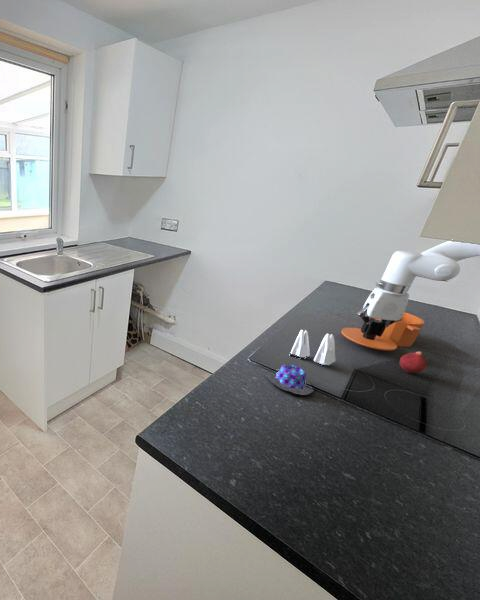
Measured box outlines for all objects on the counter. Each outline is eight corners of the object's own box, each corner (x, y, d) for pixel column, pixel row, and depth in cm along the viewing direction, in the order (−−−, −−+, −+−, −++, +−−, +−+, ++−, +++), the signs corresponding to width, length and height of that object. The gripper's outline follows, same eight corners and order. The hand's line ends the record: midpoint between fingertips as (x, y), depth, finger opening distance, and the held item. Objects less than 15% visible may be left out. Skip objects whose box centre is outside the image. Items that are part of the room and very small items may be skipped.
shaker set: (333, 365, 102) (346, 336, 98) (332, 371, 99) (345, 341, 95) (291, 351, 109) (301, 323, 105) (289, 355, 106) (299, 327, 102)
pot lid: (376, 333, 121) (386, 314, 117) (407, 355, 106) (419, 334, 103) (332, 327, 123) (340, 309, 120) (356, 348, 109) (366, 327, 106)
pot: (389, 327, 131) (400, 307, 127) (428, 352, 113) (442, 330, 109) (351, 323, 133) (360, 303, 130) (383, 347, 115) (395, 324, 112)
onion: (400, 375, 99) (412, 353, 96) (391, 365, 104) (402, 345, 101) (423, 380, 97) (436, 358, 94) (413, 370, 102) (425, 349, 99)
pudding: (313, 404, 84) (320, 388, 82) (264, 386, 90) (269, 371, 88) (312, 381, 94) (318, 366, 91) (267, 367, 99) (272, 353, 97)
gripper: (373, 288, 104) (351, 335, 111) (430, 294, 102) (403, 342, 109) (359, 281, 111) (339, 326, 118) (412, 286, 108) (388, 332, 116)
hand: (370, 333), depth 113 cm, fingers closed on pot lid, 3 cm apart
